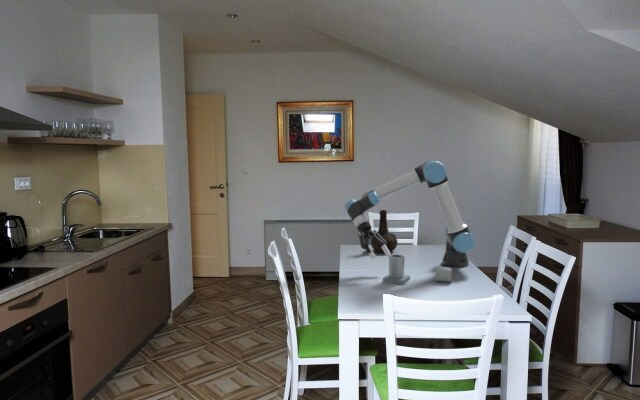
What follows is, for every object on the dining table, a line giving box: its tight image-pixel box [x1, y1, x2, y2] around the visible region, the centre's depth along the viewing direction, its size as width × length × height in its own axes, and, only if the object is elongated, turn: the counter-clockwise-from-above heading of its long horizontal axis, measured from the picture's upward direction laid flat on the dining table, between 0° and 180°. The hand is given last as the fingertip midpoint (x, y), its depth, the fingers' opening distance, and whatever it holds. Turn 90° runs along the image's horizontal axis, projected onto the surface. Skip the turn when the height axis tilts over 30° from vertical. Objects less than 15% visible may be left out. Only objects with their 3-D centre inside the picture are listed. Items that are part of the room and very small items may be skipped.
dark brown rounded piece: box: [369, 209, 398, 254], centre depth 304 cm, size 18×18×28 cm
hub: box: [388, 254, 405, 279], centre depth 235 cm, size 7×7×11 cm
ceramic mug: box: [434, 265, 453, 283], centre depth 235 cm, size 11×8×8 cm
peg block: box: [382, 273, 411, 286], centre depth 235 cm, size 11×11×8 cm
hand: (381, 256), depth 244 cm, fingers open, 13 cm apart
